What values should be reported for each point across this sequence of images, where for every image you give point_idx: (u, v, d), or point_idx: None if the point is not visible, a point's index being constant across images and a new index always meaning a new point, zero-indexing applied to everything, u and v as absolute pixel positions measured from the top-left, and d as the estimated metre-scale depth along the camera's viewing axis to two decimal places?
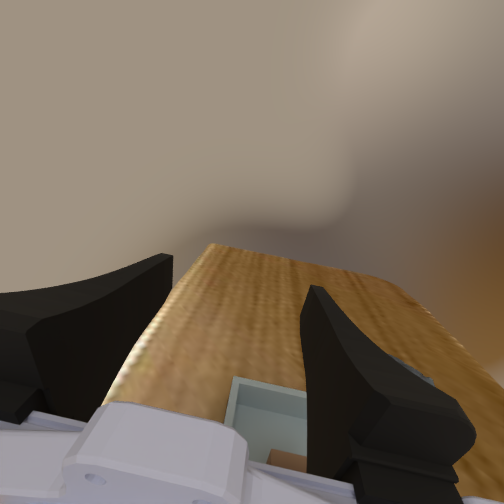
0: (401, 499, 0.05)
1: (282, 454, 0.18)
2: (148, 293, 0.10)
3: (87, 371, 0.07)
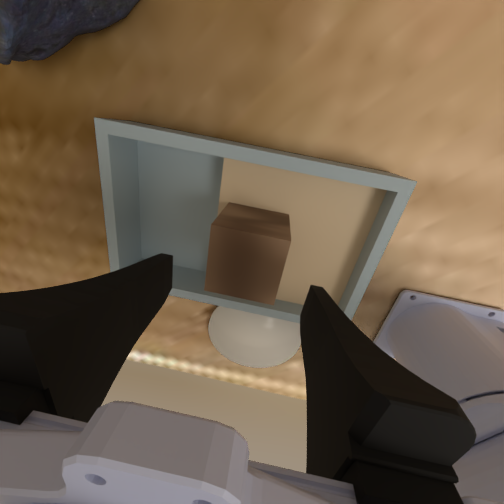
0: (401, 499, 0.05)
1: (209, 279, 0.15)
2: (148, 293, 0.10)
3: (87, 371, 0.07)
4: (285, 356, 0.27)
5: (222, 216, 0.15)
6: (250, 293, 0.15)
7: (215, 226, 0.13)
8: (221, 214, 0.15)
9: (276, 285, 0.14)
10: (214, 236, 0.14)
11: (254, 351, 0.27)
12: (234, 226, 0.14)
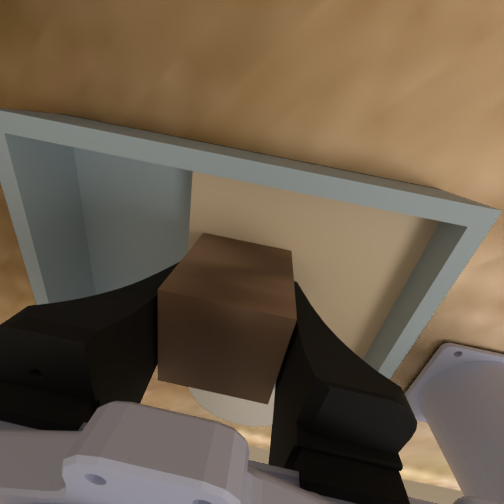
0: (342, 485, 0.05)
1: (163, 366, 0.09)
2: None
3: (127, 380, 0.07)
4: None
5: (184, 265, 0.09)
6: (230, 387, 0.09)
7: (165, 292, 0.08)
8: (184, 261, 0.09)
9: (271, 379, 0.09)
10: (165, 306, 0.08)
11: (246, 407, 0.21)
12: (199, 288, 0.08)
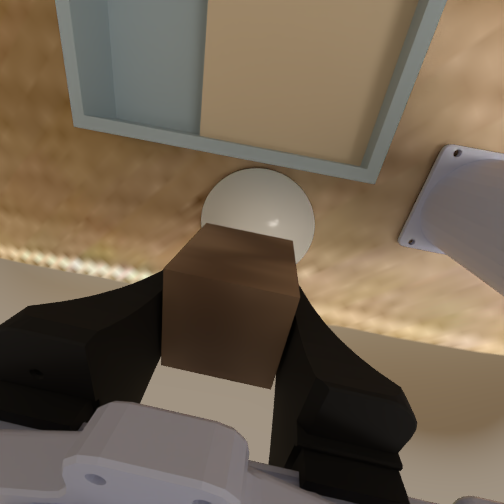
0: (342, 485, 0.05)
1: (167, 350, 0.09)
2: None
3: (127, 380, 0.07)
4: None
5: (189, 249, 0.09)
6: (233, 371, 0.09)
7: (171, 271, 0.08)
8: (188, 246, 0.10)
9: (275, 362, 0.09)
10: (171, 286, 0.08)
11: None
12: (204, 269, 0.08)
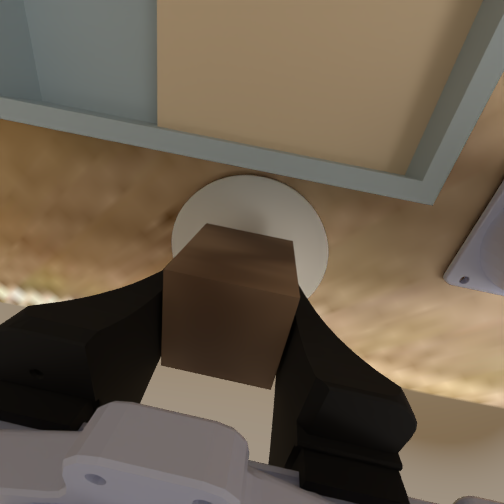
0: (342, 485, 0.05)
1: (167, 350, 0.09)
2: None
3: (127, 380, 0.07)
4: None
5: (189, 250, 0.09)
6: (233, 372, 0.09)
7: (171, 272, 0.08)
8: (188, 246, 0.10)
9: (275, 362, 0.09)
10: (170, 287, 0.08)
11: None
12: (204, 269, 0.08)
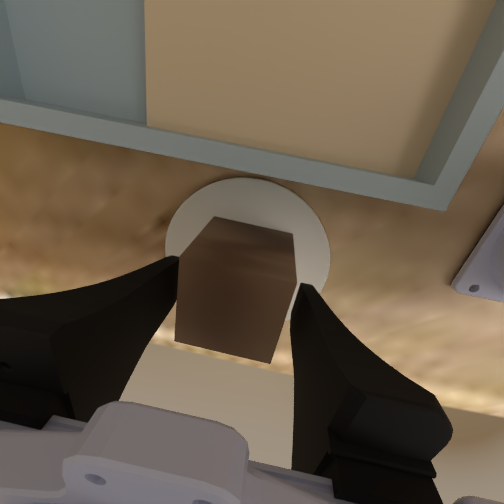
0: (377, 494, 0.05)
1: (180, 328, 0.11)
2: (159, 296, 0.10)
3: (103, 375, 0.07)
4: None
5: (200, 240, 0.10)
6: (238, 347, 0.11)
7: (186, 259, 0.09)
8: (199, 237, 0.11)
9: (274, 339, 0.10)
10: (185, 272, 0.09)
11: None
12: (214, 257, 0.09)
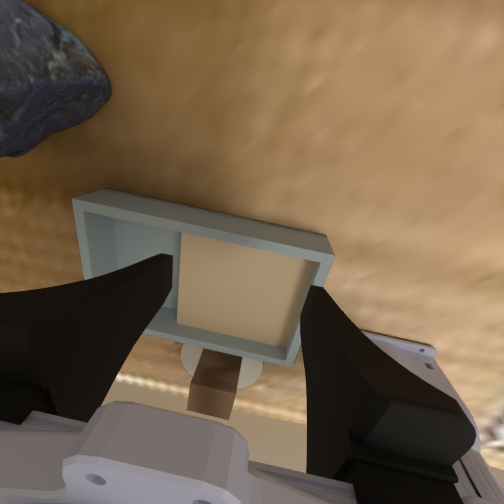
0: (401, 499, 0.05)
1: (189, 405, 0.25)
2: (148, 293, 0.10)
3: (87, 371, 0.07)
4: (249, 380, 0.30)
5: (198, 368, 0.25)
6: (214, 413, 0.25)
7: (193, 383, 0.23)
8: (198, 365, 0.25)
9: (229, 411, 0.25)
10: (192, 387, 0.24)
11: None
12: (204, 381, 0.24)
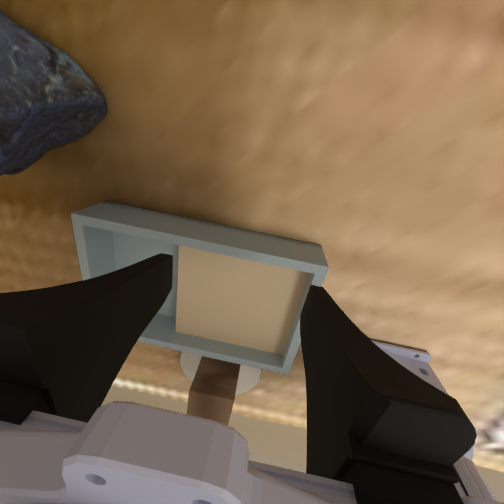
0: (401, 499, 0.05)
1: (189, 412, 0.25)
2: (148, 293, 0.10)
3: (87, 371, 0.07)
4: (248, 386, 0.30)
5: (197, 375, 0.25)
6: (213, 419, 0.25)
7: (192, 391, 0.24)
8: (197, 372, 0.25)
9: (228, 417, 0.25)
10: (191, 394, 0.24)
11: None
12: (202, 388, 0.24)
